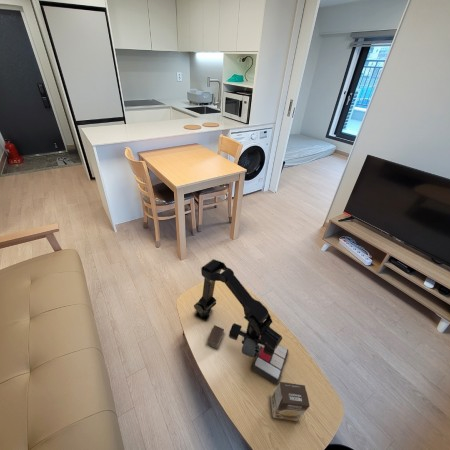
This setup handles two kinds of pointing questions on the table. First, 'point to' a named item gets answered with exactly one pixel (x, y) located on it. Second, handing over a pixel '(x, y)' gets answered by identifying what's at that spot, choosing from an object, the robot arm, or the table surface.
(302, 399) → the coffee box
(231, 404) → the table surface
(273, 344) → the robot arm
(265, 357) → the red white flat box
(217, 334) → the walnut block
